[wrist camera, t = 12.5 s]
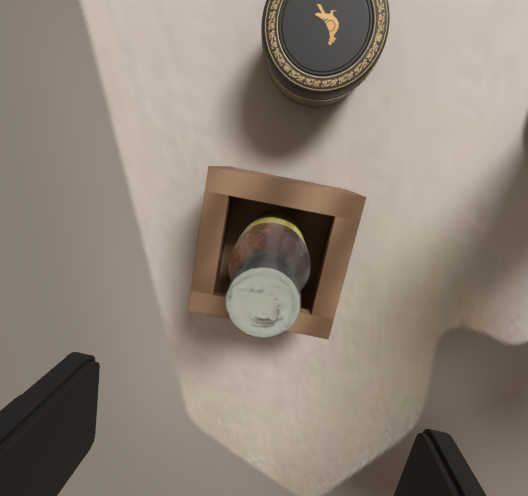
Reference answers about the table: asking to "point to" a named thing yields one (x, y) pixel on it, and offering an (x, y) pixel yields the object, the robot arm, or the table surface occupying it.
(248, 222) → the walnut box
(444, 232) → the table surface
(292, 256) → the sauce bottle
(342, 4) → the jar
